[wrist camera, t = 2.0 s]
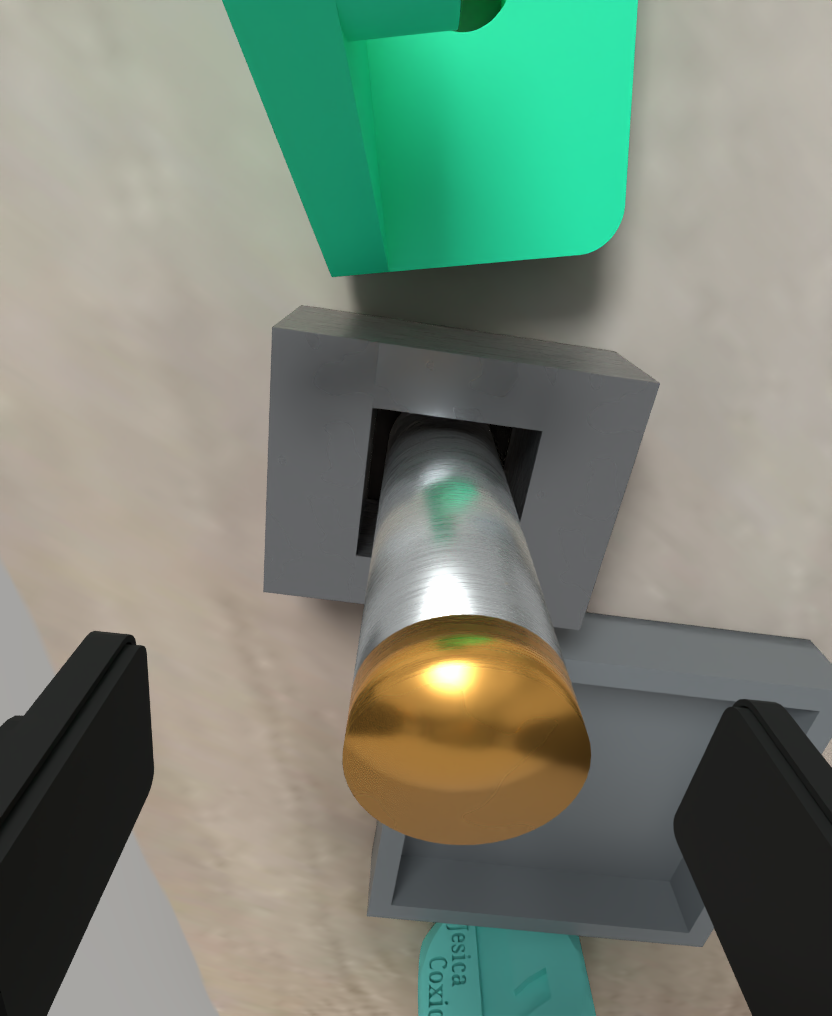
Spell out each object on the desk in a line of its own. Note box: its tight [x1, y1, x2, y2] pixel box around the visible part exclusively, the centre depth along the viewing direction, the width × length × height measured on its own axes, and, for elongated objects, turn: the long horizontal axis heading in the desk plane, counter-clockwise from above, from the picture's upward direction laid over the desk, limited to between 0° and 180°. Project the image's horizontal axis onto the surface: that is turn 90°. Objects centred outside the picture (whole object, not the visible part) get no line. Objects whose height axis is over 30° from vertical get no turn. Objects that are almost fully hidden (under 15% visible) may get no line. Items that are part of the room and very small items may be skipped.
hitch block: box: [263, 305, 660, 630], centre depth 19 cm, size 10×8×4 cm
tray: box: [367, 612, 832, 947], centre depth 26 cm, size 16×16×3 cm
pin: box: [343, 412, 591, 845], centre depth 15 cm, size 4×4×13 cm
